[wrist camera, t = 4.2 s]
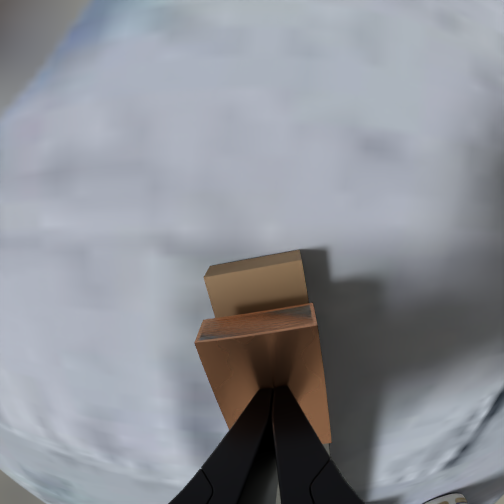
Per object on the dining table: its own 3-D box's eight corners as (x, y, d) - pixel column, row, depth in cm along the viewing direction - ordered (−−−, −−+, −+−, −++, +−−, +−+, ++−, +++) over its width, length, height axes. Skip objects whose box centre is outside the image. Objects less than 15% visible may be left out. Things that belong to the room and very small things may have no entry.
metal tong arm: (337, 530, 15) (338, 547, 13) (290, 536, 15) (290, 552, 14) (312, 300, 9) (318, 327, 8) (203, 318, 9) (193, 345, 8)
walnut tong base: (354, 516, 16) (358, 555, 13) (273, 525, 17) (271, 565, 13) (341, 241, 10) (370, 286, 7) (171, 273, 11) (130, 324, 8)
